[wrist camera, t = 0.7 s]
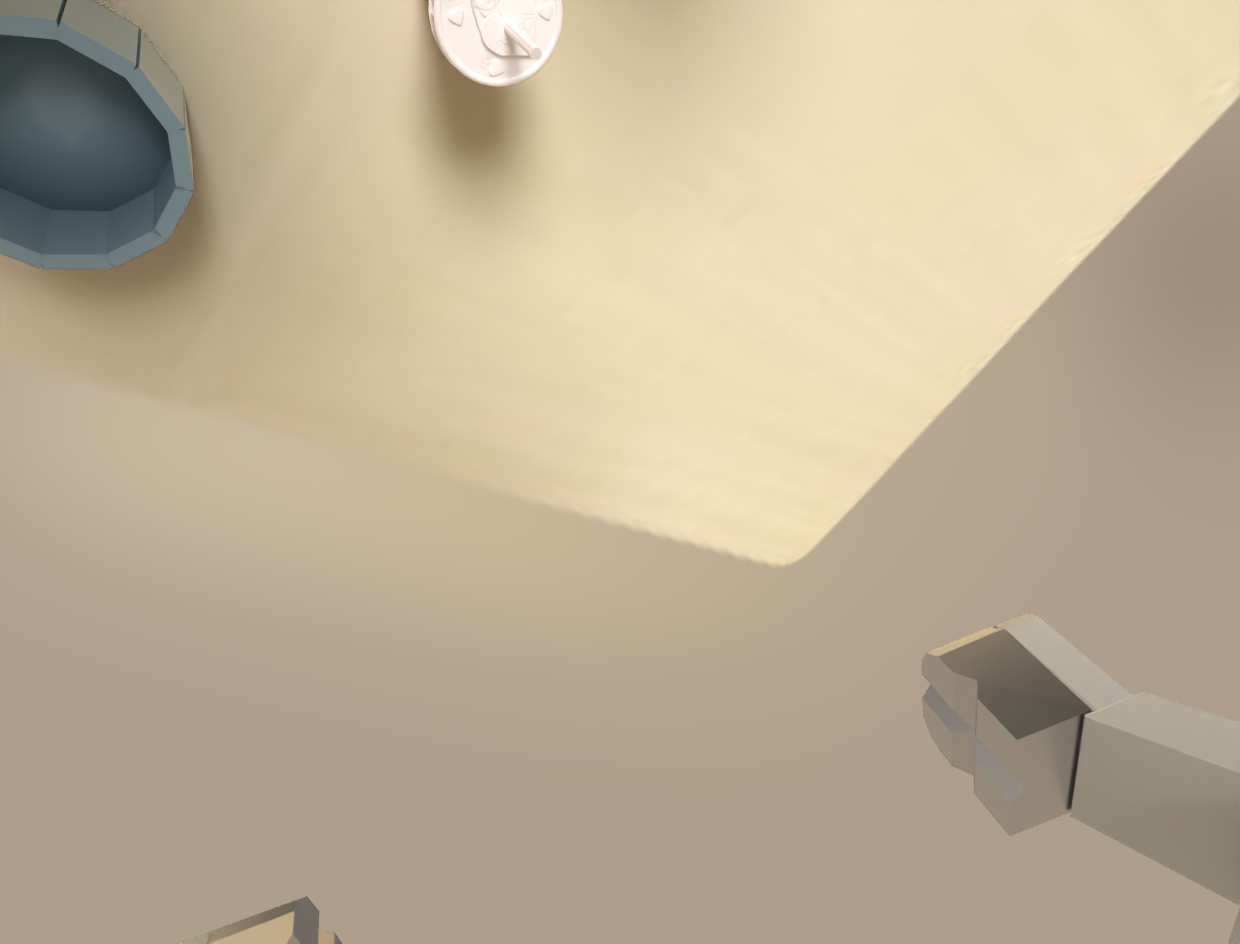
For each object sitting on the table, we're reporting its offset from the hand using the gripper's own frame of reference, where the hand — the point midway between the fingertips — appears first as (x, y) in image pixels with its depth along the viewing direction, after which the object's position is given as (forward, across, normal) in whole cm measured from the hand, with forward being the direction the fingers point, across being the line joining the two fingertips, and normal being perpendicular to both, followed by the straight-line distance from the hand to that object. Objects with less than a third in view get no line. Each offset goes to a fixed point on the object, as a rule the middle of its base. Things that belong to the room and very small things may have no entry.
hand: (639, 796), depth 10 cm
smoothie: (+46, -6, -11) cm, 48 cm away
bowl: (+45, +16, -9) cm, 49 cm away
